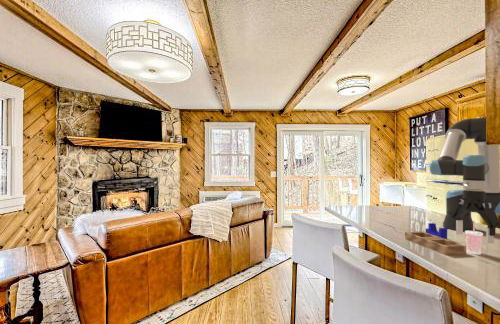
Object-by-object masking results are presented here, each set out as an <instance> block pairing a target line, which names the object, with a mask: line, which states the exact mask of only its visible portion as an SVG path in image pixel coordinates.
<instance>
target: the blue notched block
mask: <svg viewBox="0 0 500 324" xmlns="http://www.w3.org/2000/svg"><path fill="white" fill-rule="evenodd" d="M436 225H437V224H436V223H435V222H434V223H432V222H431V223H430V222H429V223H428V226H427V228H425V232H426V233H429V234H432V235H435V236H438V237H441V238H444V239H447V240H448V228H445V227H438V229H437V226H436Z"/></svg>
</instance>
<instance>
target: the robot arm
mask: <svg viewBox="0 0 500 324" xmlns="http://www.w3.org/2000/svg"><path fill="white" fill-rule="evenodd" d="M486 117H487V116H484V117H482V116H481V117H474V118H465V119H461V120H460V121H457V122H455V123H454V124H453V125H451V126H449V128H448V129H447V130H446V132H445V135H444V138H445V140H444V143H443V146H442V148H441V150H440V153H439V155H438V159H435V160H434V159H433V160H430V162H429V172H430V174H432V175H434V176H458V177H459V176H462V189H451V190H447V191H446V196H445V203H446V206H445V209H446V210H445V211H446V214H445V216H444V220H443V222H442V228H447V230H448V229H449V230H454V231H456V232H455V235H458V236H459V235H460V236H462V235H464V232H465V231H467V230H468V231H473V221H474V220H473V218H472V213H477V214H478V215H479V216H480V217H481V219H482V220H483V221H484V222H485V224H486V228H485V230H486V231H485V232H486V233H485V238H486V239H485V240H486V241H485V243H486V244H495V236H496V228H500V220H499V218H498V216H500V144H499V145H486ZM466 140H474V144H476V145H477V154H467V155H466V154H465V155H464V156H463V157H462V159H459V160H458V156H459V153H460V150H461V147H462V143H464V141H466Z"/></svg>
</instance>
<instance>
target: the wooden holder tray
mask: <svg viewBox="0 0 500 324" xmlns="http://www.w3.org/2000/svg"><path fill="white" fill-rule="evenodd" d="M404 239H405V240H406V241H409V242H412V243H414V244H417V245H419V246H422V247H425V248H427V249H429V250H432V251H434V252H437V253H440V254H442V255H444V256H449V255H450V256H452V255H466V254H467V245H465V244H462V243H459V242H456V241H453V240H449V239H448V238H447V239H444V238H441V237H438V236H435V235H432V234H429V233H426V231H405V232H404Z"/></svg>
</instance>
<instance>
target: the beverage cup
mask: <svg viewBox="0 0 500 324" xmlns="http://www.w3.org/2000/svg"><path fill="white" fill-rule="evenodd" d="M475 223H476V221H475V220H473V231H468V230H467V231H464V233H465V240H466V241H465V242H466V253H469V254H471V255H472V254H473V255H482V245H483V236H484V233H483V232H481V231H477V230H476V224H475Z"/></svg>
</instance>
